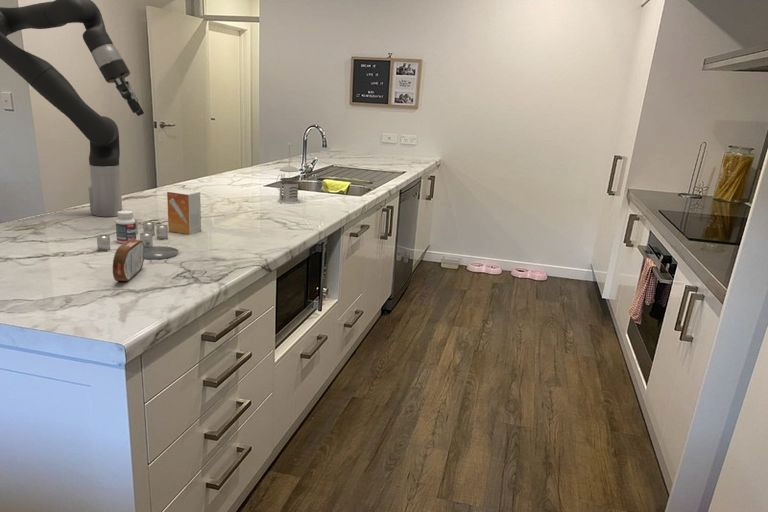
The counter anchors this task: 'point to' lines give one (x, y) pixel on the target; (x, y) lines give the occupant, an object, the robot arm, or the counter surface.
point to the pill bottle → (125, 227)
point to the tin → (128, 260)
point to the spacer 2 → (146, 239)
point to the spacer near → (103, 242)
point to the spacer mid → (149, 227)
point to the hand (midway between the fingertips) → (139, 113)
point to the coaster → (159, 252)
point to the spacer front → (162, 232)
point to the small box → (184, 211)
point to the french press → (288, 185)
